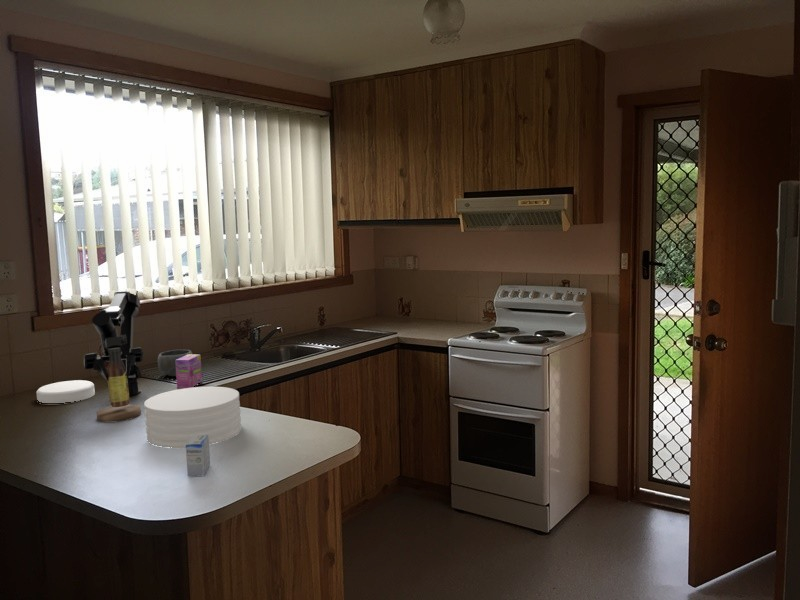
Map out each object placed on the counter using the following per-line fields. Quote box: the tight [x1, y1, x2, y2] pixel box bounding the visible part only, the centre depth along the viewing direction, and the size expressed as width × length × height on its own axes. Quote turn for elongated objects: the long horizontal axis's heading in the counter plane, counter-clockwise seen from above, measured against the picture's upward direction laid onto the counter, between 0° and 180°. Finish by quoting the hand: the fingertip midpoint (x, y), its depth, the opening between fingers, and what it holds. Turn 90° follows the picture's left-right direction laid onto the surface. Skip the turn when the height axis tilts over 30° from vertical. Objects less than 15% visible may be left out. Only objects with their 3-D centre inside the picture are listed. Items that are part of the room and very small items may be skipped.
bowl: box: [157, 349, 193, 377], centre depth 297 cm, size 15×15×10 cm
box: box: [175, 353, 203, 390], centre depth 277 cm, size 10×6×12 cm, turn 168°
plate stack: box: [143, 386, 242, 449], centre depth 215 cm, size 28×28×12 cm
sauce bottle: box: [106, 347, 130, 407], centre depth 237 cm, size 7×6×20 cm
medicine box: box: [185, 435, 211, 477], centre depth 183 cm, size 8×4×9 cm, turn 5°
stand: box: [96, 403, 142, 422], centre depth 239 cm, size 14×14×2 cm
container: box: [35, 379, 96, 404], centre depth 267 cm, size 20×20×5 cm
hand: (117, 378), depth 236 cm, fingers closed on sauce bottle, 6 cm apart
